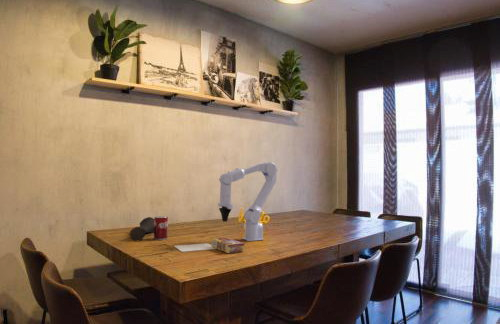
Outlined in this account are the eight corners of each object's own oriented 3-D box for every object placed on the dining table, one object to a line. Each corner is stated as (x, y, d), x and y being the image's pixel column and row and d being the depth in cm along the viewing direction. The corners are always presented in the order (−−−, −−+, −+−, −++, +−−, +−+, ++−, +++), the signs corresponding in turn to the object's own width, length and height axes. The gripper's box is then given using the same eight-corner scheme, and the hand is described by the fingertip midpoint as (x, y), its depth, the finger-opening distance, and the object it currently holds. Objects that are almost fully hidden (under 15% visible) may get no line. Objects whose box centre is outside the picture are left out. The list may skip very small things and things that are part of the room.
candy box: (211, 247, 164) (227, 253, 151) (211, 238, 164) (227, 243, 151) (227, 246, 169) (244, 251, 156) (227, 237, 169) (244, 242, 156)
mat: (207, 243, 172) (207, 243, 172) (216, 248, 161) (216, 248, 161) (174, 246, 165) (174, 245, 165) (181, 252, 153) (181, 251, 153)
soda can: (170, 238, 185) (170, 216, 186) (162, 240, 178) (163, 217, 179) (158, 237, 188) (159, 215, 188) (150, 239, 181) (151, 217, 181)
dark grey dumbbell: (146, 235, 206) (133, 250, 178) (138, 220, 205) (123, 233, 177) (162, 226, 206) (152, 241, 178) (154, 211, 205) (142, 224, 177)
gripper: (213, 194, 186) (213, 219, 185) (223, 196, 173) (223, 223, 172) (225, 194, 189) (224, 219, 189) (236, 196, 176) (235, 222, 176)
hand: (224, 221), depth 181 cm, fingers closed
